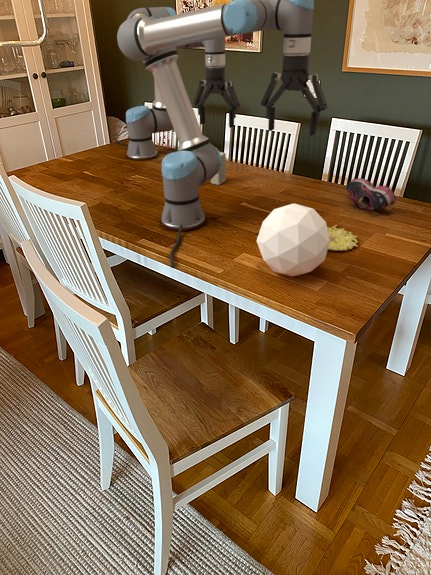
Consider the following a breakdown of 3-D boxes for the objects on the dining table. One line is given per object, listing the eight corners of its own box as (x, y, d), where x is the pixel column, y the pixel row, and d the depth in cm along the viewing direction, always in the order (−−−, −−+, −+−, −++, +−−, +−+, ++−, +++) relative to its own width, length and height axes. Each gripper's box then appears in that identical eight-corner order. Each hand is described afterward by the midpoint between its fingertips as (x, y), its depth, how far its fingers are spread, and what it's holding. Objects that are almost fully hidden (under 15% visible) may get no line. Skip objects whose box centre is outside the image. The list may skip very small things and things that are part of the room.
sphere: (300, 299, 125) (311, 272, 106) (242, 261, 130) (243, 230, 111) (335, 249, 130) (352, 215, 111) (278, 215, 135) (285, 177, 116)
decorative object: (343, 255, 128) (285, 234, 139) (342, 262, 130) (284, 241, 140) (372, 230, 142) (317, 213, 152) (371, 237, 143) (316, 219, 153)
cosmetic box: (217, 179, 194) (217, 151, 187) (226, 180, 192) (226, 152, 185) (210, 183, 189) (209, 155, 183) (219, 185, 187) (218, 156, 181)
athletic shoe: (355, 177, 172) (330, 185, 168) (397, 172, 152) (371, 180, 148) (360, 206, 174) (336, 214, 171) (402, 204, 155) (376, 213, 151)
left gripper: (182, 66, 169) (186, 124, 181) (239, 69, 158) (239, 130, 169) (193, 64, 175) (196, 120, 186) (249, 66, 163) (248, 126, 175)
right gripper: (250, 54, 127) (249, 130, 139) (335, 56, 116) (326, 139, 127) (262, 52, 133) (260, 125, 144) (344, 54, 121) (334, 133, 133)
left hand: (216, 125), depth 178 cm, fingers open, 13 cm apart
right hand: (291, 132), depth 136 cm, fingers open, 13 cm apart
